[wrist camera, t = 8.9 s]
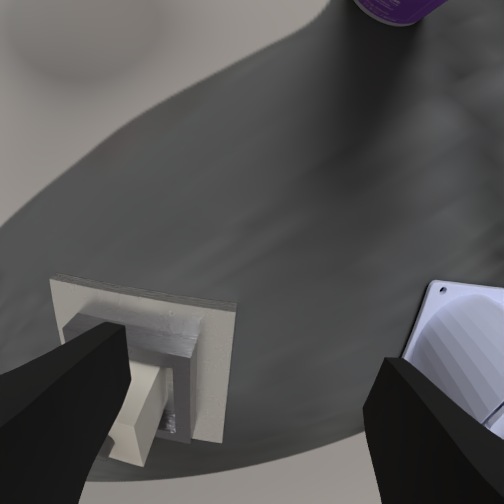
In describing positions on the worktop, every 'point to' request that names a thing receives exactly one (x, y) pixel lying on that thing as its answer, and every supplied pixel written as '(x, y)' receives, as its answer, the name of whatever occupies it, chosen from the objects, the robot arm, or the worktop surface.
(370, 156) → the worktop surface
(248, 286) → the worktop surface
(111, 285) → the socket plate
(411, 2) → the container
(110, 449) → the plug
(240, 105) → the worktop surface
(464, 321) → the robot arm
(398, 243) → the worktop surface
